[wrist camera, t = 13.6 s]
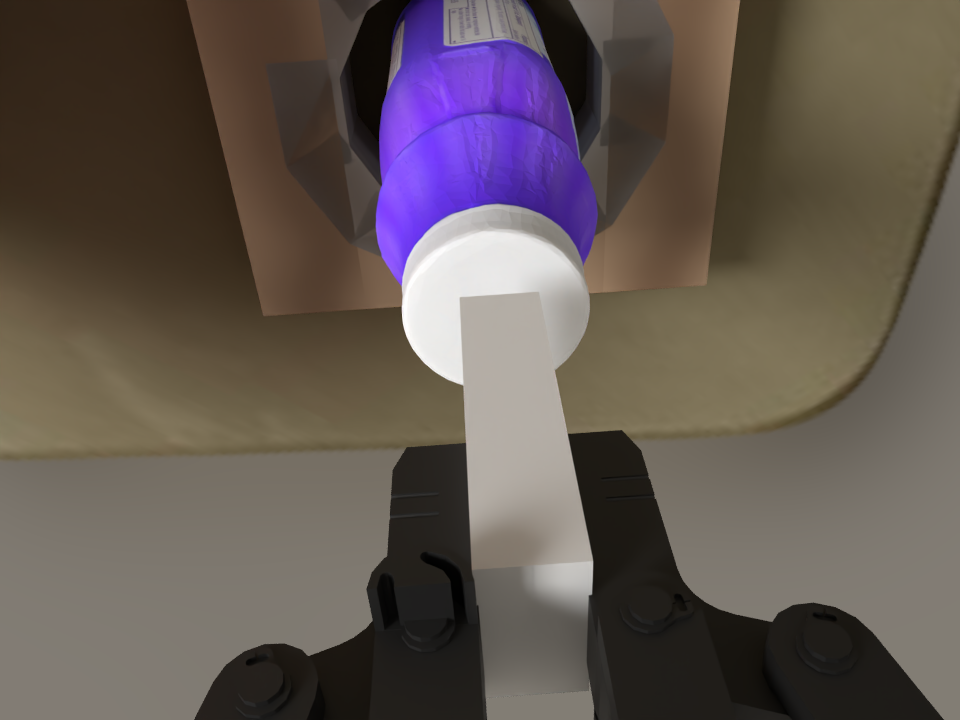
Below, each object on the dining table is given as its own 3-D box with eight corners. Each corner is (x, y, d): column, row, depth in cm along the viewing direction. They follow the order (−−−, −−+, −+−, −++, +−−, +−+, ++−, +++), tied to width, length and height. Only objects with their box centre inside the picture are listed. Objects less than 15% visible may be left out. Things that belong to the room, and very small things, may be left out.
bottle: (549, 155, 34) (633, 428, 19) (412, 173, 34) (394, 456, 19) (536, -39, 29) (630, 128, 15) (379, -17, 30) (326, 167, 15)
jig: (277, 274, 36) (263, 316, 33) (181, -154, 27) (150, -147, 24) (684, 245, 36) (706, 285, 33) (727, -191, 27) (762, -188, 24)
